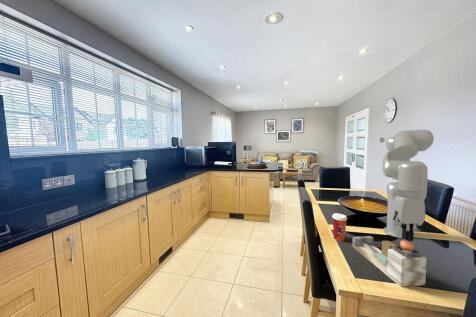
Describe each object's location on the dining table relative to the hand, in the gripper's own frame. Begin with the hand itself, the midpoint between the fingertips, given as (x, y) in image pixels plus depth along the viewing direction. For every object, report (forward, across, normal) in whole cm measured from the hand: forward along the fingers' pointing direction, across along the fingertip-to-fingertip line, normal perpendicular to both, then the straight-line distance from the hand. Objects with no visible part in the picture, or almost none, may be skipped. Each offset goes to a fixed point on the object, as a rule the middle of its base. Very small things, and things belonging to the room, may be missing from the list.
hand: (407, 239), depth 74 cm
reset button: (+4, 0, 0) cm, 4 cm away
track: (+17, 0, -11) cm, 21 cm away
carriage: (+15, 0, -9) cm, 18 cm away
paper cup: (+17, +7, -34) cm, 39 cm away
